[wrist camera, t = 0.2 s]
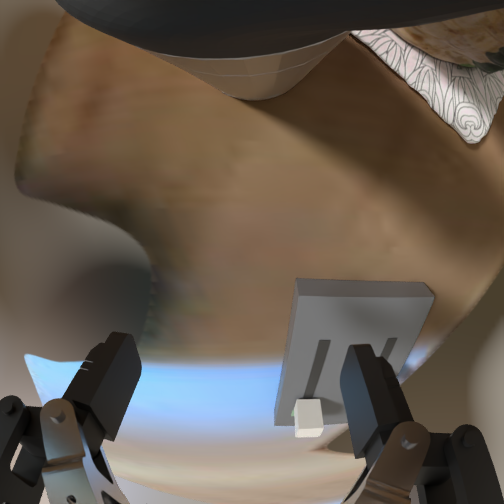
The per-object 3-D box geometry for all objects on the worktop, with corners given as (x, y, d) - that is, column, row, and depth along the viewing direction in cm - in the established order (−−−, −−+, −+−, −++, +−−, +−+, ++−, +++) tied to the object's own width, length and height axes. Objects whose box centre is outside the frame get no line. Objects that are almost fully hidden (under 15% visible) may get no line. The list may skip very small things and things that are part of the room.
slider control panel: (295, 278, 28) (298, 296, 26) (423, 282, 28) (435, 297, 25) (274, 409, 39) (274, 426, 36) (365, 406, 39) (369, 421, 36)
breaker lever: (296, 399, 32) (298, 428, 28) (319, 398, 32) (323, 427, 28) (293, 409, 33) (295, 437, 29) (316, 408, 33) (319, 436, 29)
